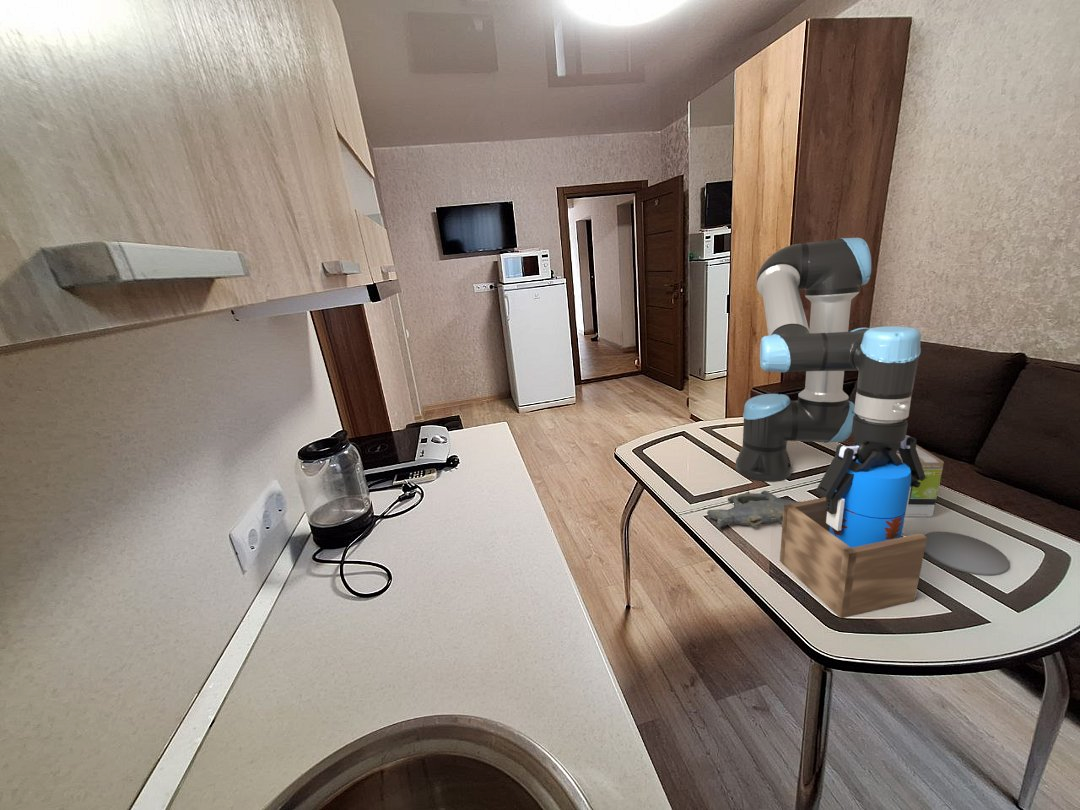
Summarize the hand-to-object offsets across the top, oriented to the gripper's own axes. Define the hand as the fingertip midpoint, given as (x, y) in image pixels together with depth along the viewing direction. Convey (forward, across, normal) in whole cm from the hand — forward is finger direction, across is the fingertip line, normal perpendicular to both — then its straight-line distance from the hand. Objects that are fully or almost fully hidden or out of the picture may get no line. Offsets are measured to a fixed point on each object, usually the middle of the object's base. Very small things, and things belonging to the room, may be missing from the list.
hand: (865, 520), depth 80 cm
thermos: (+14, 0, 0) cm, 14 cm away
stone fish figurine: (+14, -5, +26) cm, 29 cm away
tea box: (+13, +29, +20) cm, 38 cm away
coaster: (+13, +24, 0) cm, 28 cm away
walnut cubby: (+13, -3, 0) cm, 14 cm away
